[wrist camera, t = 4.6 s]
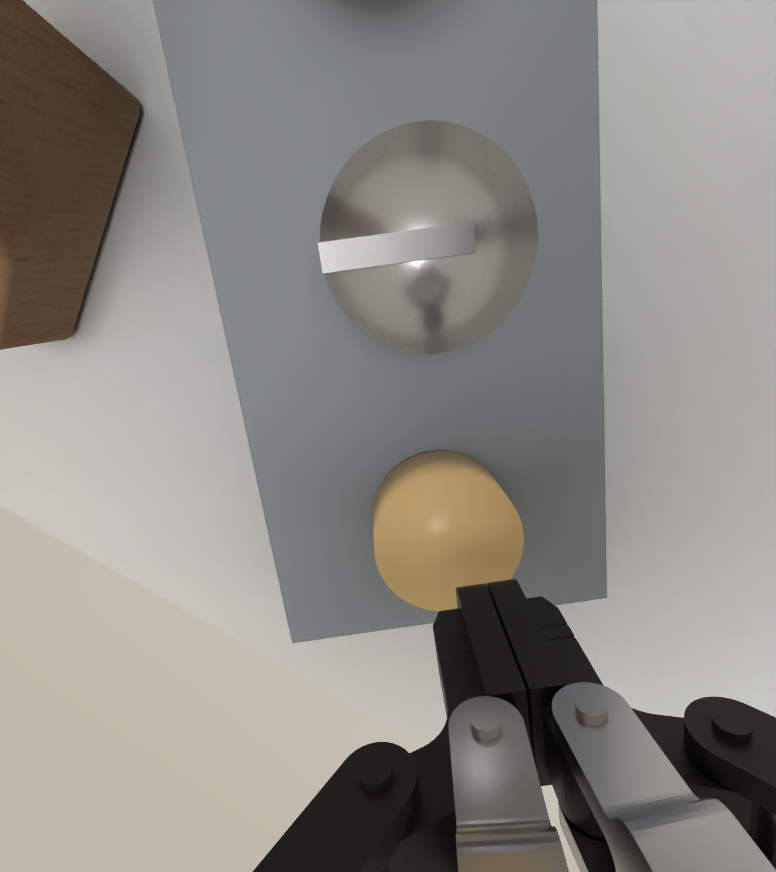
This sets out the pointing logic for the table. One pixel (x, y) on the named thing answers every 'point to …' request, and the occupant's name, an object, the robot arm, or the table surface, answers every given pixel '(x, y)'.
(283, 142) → the panel
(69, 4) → the table surface
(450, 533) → the knob
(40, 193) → the wooden block
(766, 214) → the table surface
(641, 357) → the table surface
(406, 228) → the dial middle
